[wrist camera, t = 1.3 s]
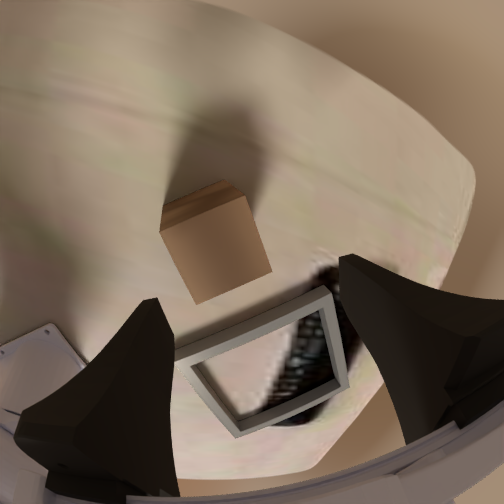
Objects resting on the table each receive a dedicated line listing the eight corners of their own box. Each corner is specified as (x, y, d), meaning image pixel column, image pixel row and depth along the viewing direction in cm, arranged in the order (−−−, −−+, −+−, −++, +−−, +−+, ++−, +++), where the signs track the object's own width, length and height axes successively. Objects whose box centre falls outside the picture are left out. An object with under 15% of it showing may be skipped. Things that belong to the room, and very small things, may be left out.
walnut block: (189, 261, 21) (196, 304, 16) (162, 205, 19) (159, 232, 14) (246, 237, 22) (272, 271, 16) (224, 179, 20) (245, 195, 14)
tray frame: (232, 428, 29) (235, 438, 28) (172, 350, 23) (173, 362, 22) (343, 378, 31) (349, 387, 29) (323, 284, 25) (331, 292, 23)
